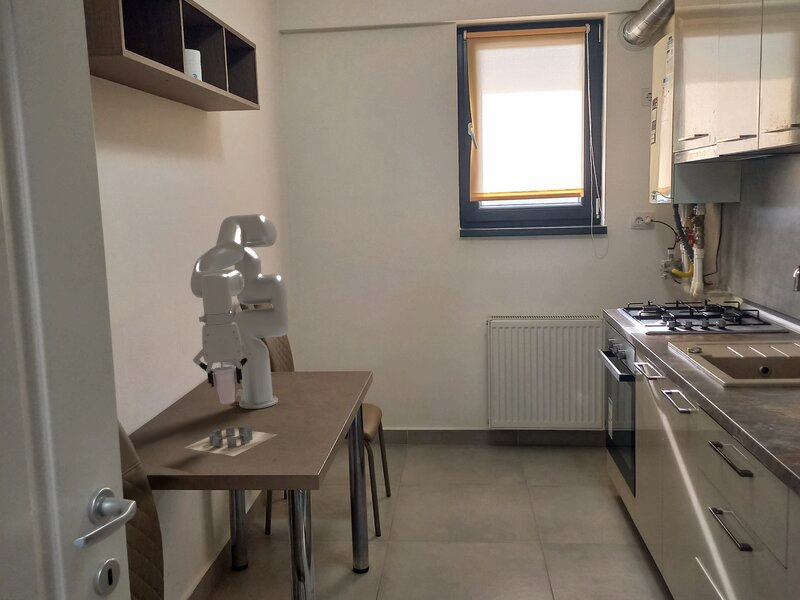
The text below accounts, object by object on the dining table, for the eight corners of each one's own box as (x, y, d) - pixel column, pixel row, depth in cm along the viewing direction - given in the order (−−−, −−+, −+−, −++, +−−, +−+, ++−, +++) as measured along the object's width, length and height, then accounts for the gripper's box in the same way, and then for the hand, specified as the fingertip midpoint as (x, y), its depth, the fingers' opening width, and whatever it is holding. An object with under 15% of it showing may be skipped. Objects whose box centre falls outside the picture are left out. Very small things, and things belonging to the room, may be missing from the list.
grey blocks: (201, 445, 203) (200, 436, 203) (230, 432, 213) (229, 424, 212) (232, 450, 197) (231, 441, 197) (261, 436, 207) (260, 428, 207)
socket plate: (183, 453, 202) (183, 448, 202) (229, 432, 217) (229, 427, 217) (234, 461, 193) (233, 456, 193) (278, 439, 208) (277, 434, 208)
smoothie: (217, 399, 206) (212, 350, 204) (240, 398, 207) (236, 348, 205) (213, 406, 200) (208, 355, 198) (237, 404, 200) (233, 353, 198)
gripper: (185, 324, 194) (192, 391, 197) (252, 317, 199) (259, 383, 201) (186, 320, 202) (192, 385, 204) (250, 314, 206) (256, 377, 208)
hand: (225, 383), depth 203 cm, fingers closed on smoothie, 6 cm apart
